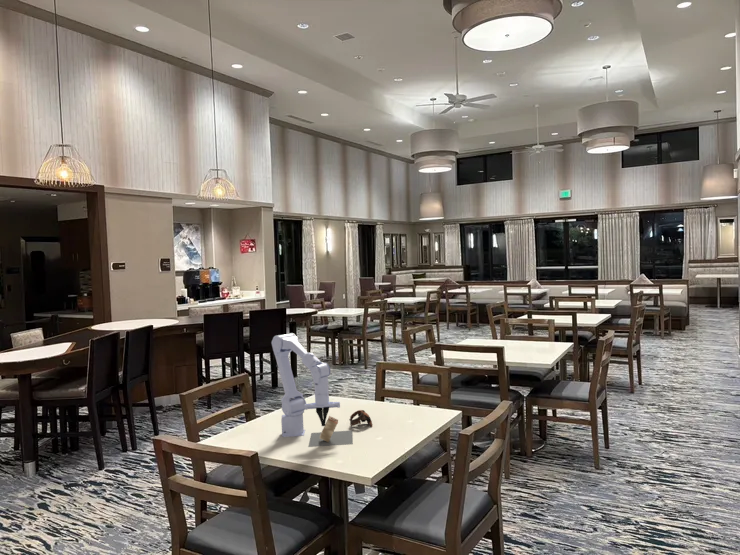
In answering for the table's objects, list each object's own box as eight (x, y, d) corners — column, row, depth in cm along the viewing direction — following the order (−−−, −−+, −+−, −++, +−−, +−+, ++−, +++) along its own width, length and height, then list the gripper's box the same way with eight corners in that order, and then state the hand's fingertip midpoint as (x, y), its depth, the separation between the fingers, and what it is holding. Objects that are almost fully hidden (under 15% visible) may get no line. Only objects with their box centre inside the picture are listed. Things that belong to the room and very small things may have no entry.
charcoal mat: (308, 447, 217) (308, 446, 217) (311, 433, 235) (311, 432, 235) (352, 445, 217) (352, 444, 217) (352, 431, 235) (352, 430, 235)
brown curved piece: (373, 430, 237) (364, 415, 236) (355, 439, 239) (346, 425, 237) (374, 415, 249) (365, 401, 247) (357, 424, 251) (348, 410, 249)
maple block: (319, 438, 221) (328, 418, 221) (320, 435, 225) (329, 415, 225) (328, 442, 221) (337, 422, 221) (328, 439, 225) (338, 419, 225)
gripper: (303, 396, 218) (305, 429, 218) (339, 394, 219) (340, 427, 219) (304, 392, 225) (306, 424, 226) (339, 390, 226) (341, 422, 226)
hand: (323, 425), depth 223 cm, fingers closed
